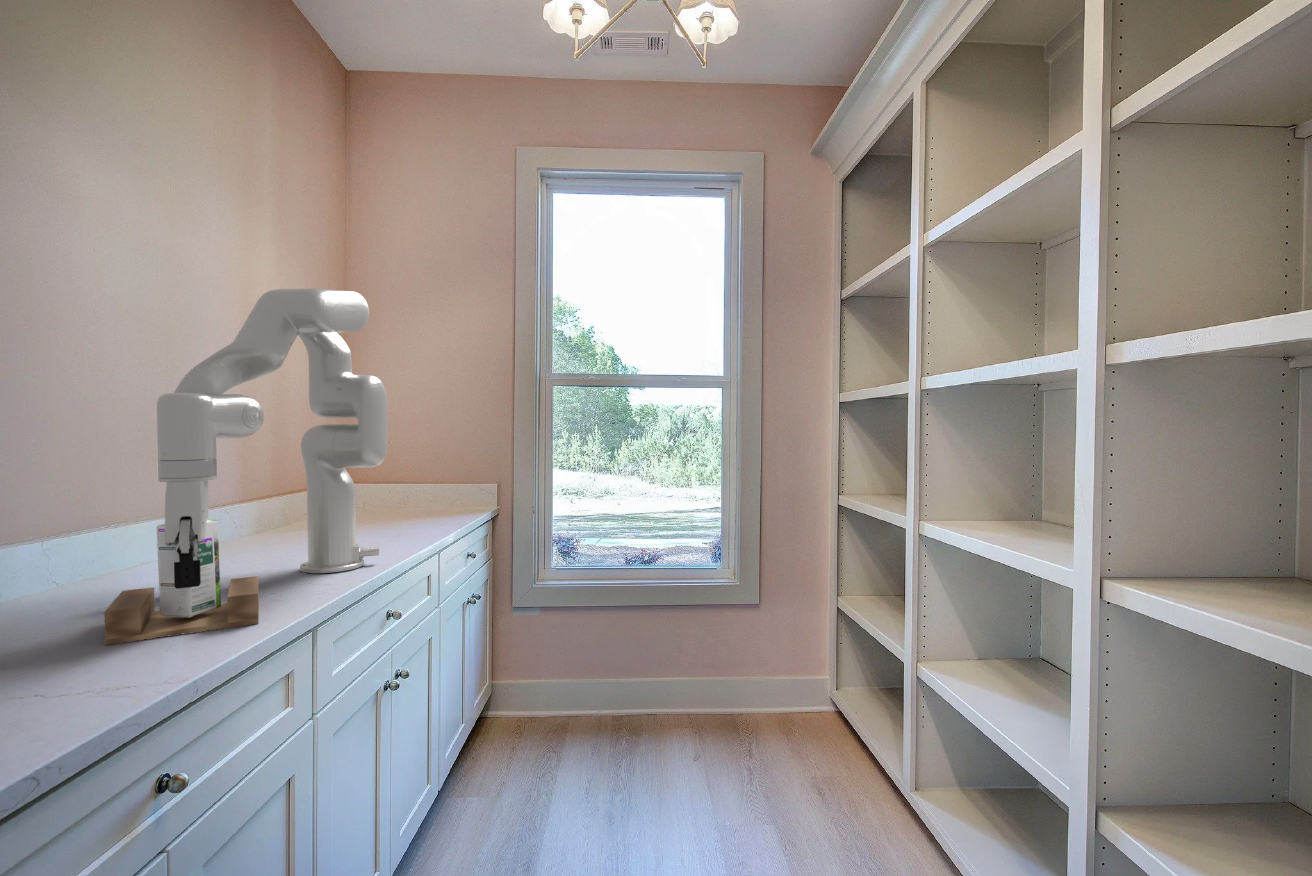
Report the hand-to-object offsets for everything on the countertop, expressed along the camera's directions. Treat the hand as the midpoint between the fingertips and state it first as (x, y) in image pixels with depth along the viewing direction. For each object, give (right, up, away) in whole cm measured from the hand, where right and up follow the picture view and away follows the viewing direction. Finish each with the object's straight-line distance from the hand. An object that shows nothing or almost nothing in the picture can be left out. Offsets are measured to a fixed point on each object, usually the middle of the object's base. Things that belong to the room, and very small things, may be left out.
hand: (190, 580), depth 101 cm
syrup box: (0, -5, 0) cm, 5 cm away
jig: (0, -7, 0) cm, 7 cm away
